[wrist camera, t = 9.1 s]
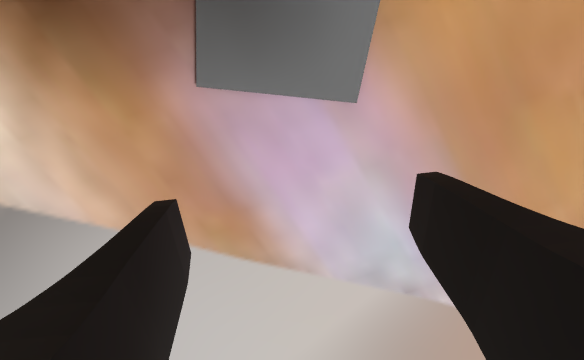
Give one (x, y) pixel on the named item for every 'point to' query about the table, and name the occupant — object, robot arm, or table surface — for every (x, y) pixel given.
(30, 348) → the robot arm
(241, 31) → the rubber mat
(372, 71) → the table surface
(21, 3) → the table surface
